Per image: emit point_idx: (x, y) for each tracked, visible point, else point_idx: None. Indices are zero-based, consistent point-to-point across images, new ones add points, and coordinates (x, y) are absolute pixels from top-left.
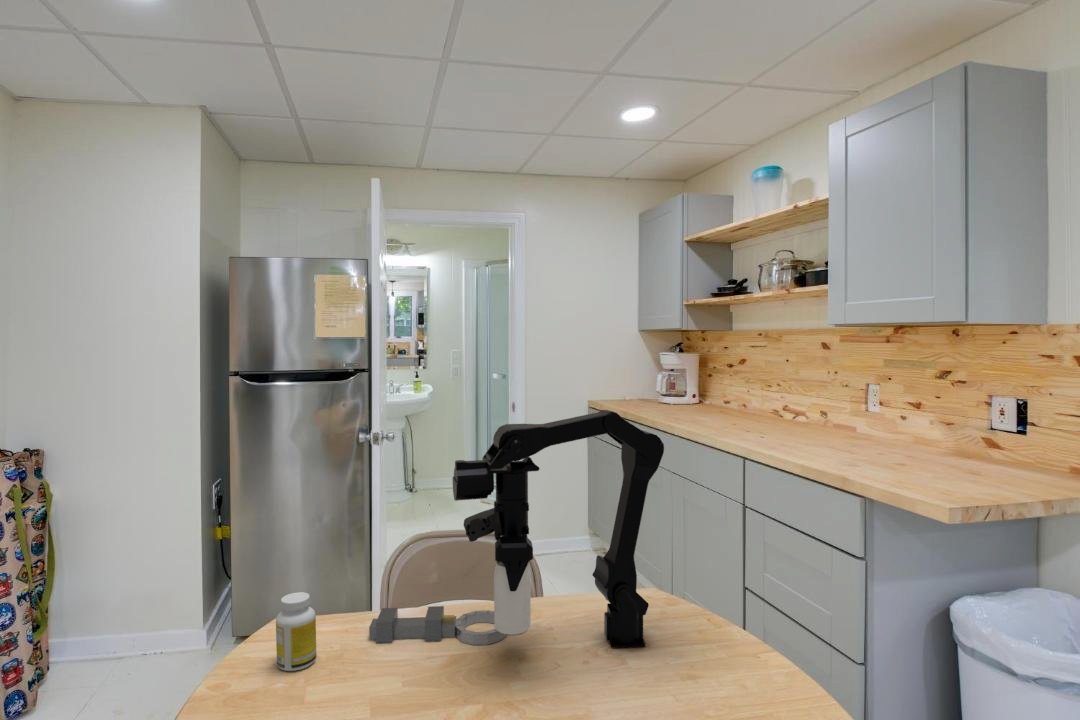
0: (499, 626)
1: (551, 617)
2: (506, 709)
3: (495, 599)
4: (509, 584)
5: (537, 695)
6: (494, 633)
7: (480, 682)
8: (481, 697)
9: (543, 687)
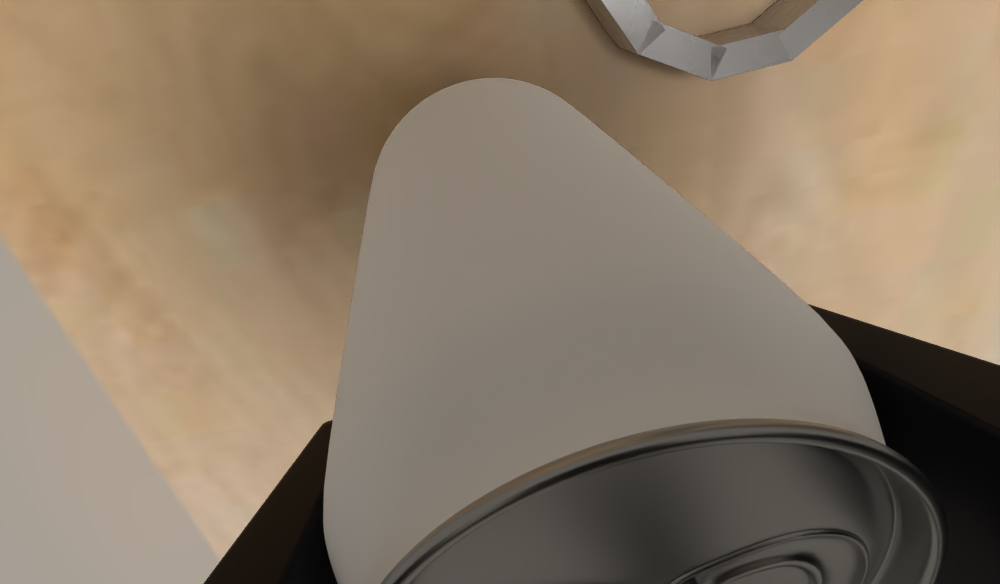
0: (385, 149)
1: (835, 246)
2: (8, 223)
3: (426, 168)
4: (275, 495)
5: (179, 316)
6: (611, 17)
7: (166, 37)
8: (33, 81)
9: (246, 324)
